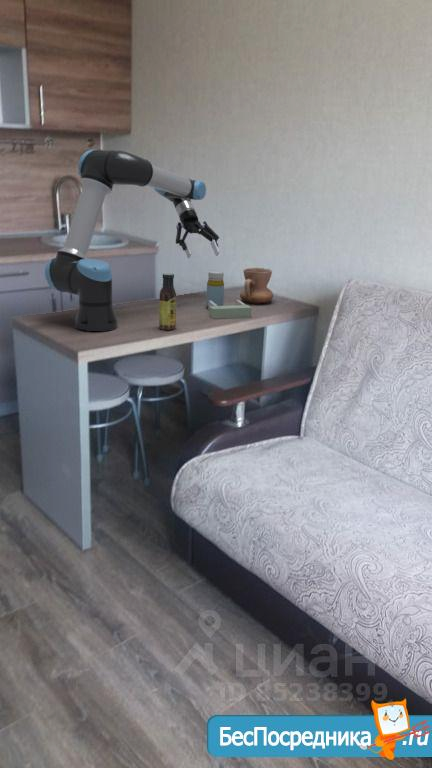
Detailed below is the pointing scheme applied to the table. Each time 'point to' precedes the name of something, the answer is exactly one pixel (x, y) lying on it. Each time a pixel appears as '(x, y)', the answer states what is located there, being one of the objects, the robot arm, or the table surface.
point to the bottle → (215, 288)
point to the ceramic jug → (256, 285)
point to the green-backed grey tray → (229, 310)
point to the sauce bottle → (167, 303)
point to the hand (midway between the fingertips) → (203, 255)
